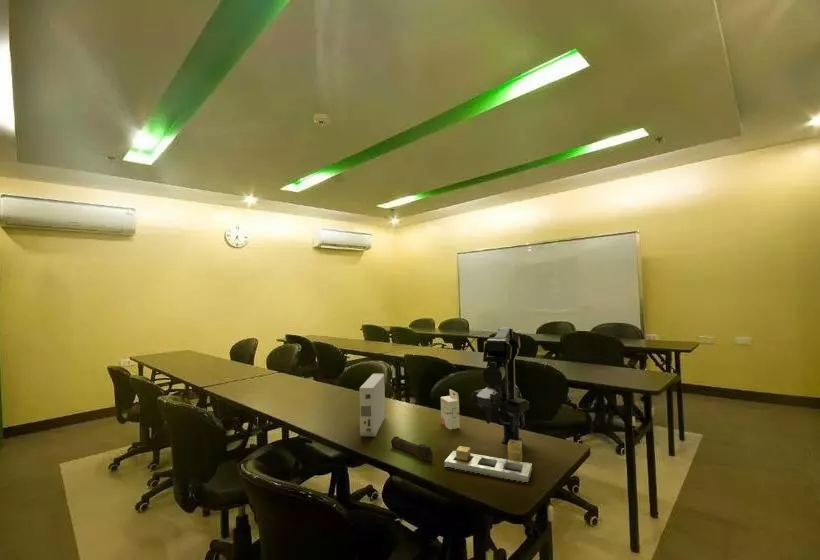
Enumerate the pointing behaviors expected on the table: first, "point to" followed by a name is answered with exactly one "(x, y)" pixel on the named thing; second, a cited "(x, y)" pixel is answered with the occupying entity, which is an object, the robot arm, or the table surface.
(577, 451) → the table surface
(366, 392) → the game console
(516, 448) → the block
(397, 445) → the dark brown elongated piece
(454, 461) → the white slotted tray
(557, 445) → the table surface
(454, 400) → the ink cartridge box
